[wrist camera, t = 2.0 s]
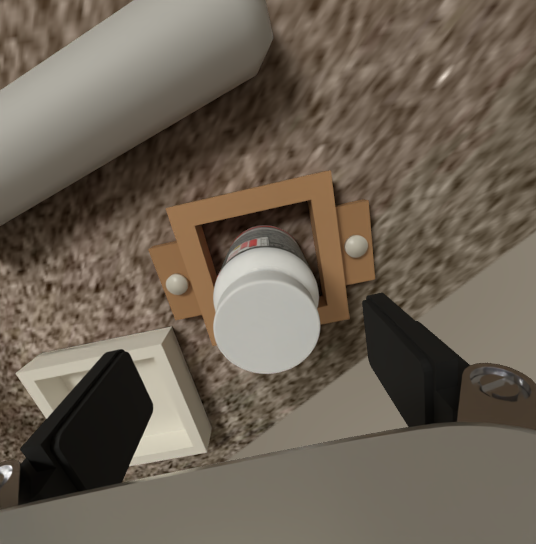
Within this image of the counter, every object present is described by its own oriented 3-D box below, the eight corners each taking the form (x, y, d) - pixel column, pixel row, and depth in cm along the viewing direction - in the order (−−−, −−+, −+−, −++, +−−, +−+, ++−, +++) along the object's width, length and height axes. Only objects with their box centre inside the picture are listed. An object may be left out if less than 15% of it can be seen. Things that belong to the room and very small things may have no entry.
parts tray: (171, 326, 22) (161, 344, 20) (211, 428, 26) (206, 452, 24) (40, 353, 23) (15, 373, 21) (99, 448, 27) (83, 474, 25)
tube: (230, -117, 11) (-176, 168, 14) (285, -4, 11) (-134, 257, 14) (252, 4, 16) (-47, 192, 19) (289, 81, 16) (-16, 257, 19)
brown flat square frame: (359, 162, 18) (369, 161, 17) (372, 302, 22) (381, 312, 20) (141, 213, 19) (129, 216, 17) (188, 338, 23) (182, 351, 21)
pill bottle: (214, 245, 20) (172, 304, 11) (280, 210, 19) (297, 240, 10) (250, 305, 22) (241, 400, 13) (312, 274, 21) (353, 352, 12)
